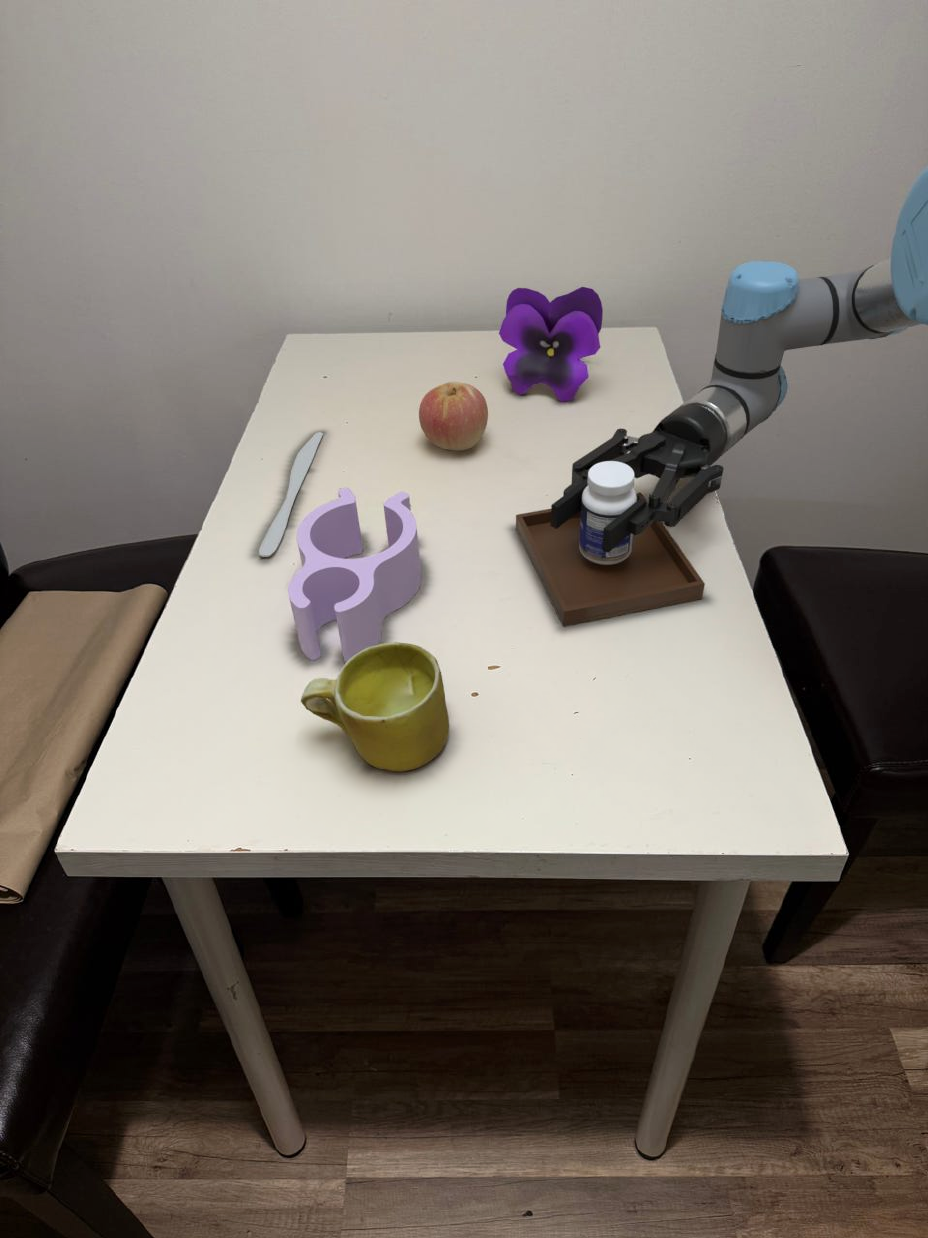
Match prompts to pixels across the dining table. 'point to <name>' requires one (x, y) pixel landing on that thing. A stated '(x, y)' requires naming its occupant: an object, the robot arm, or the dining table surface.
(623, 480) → the pill bottle
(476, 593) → the dining table surface
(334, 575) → the clip
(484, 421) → the apple
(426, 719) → the mug
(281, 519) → the butter knife
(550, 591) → the brown square tray
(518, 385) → the flower
